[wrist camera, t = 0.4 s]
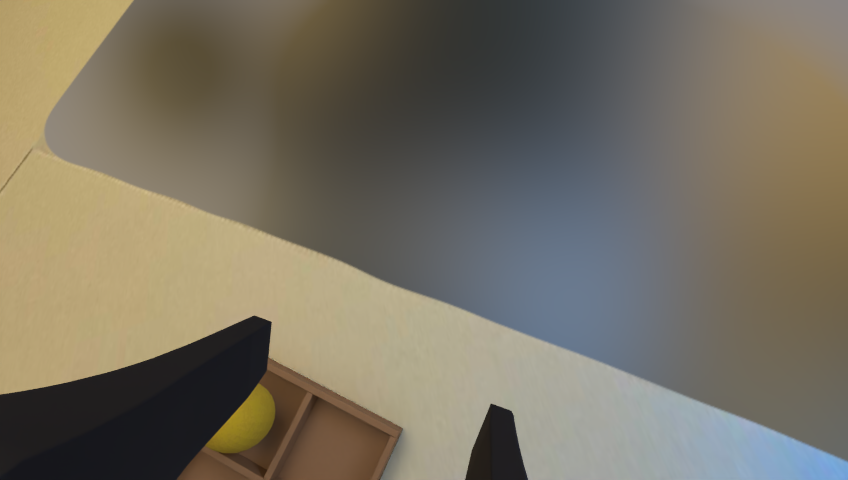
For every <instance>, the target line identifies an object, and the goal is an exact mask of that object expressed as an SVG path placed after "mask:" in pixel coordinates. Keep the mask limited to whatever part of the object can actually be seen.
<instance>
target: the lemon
mask: <svg viewBox="0 0 848 480" xmlns="http://www.w3.org/2000/svg"><path fill="white" fill-rule="evenodd" d="M275 411H276V410H275V403H274V400H273V397H272V395H271V394H270V393H269V391H268V390H267V389H266V388H265V387H263V386H262V385H261V384H257V386H256V387H255V389H254V390H253V391H252V393H251V394H250V396H249V397H248V398H247V399H246V401H245V402H244V403H243V404H242V405H241V406H240V407H239V408H238V410H237V411H236V412H235V413H234V414H233V415H232V416H231V417H230V419H229V420H228V421H227V422H226V423H225V424H224V425H223V426H222V427H221V428H220V430H219V431H218V432H217V433H216V434H215V435H214V436H213V437H212V438H211V439H210V441H209V442H208V443H207V444H206V445H205V446H206V447H208V448H210V449H211V450H213V451H217V452H220V453H238V452H241V451H245V450H248V449H250V448H251V447H253V446H255V445H256V444H258V443H259V442H260V441H261V440H262V439H263V438H264V437H265V436H266V435H267V434H268V432H269V430H270V429H271V427H272V425H273V422H274V419H275Z"/></svg>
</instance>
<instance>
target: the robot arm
mask: <svg viewBox="0 0 848 480" xmlns="http://www.w3.org/2000/svg"><path fill="white" fill-rule="evenodd" d="M271 323H272V322H271V321H268V320H265V319H262V318H260V317H257V316H252V317H250V318H248V319H245V320H243V321H241V322H238V323H236V324H234V325H232V326H230V327H227V328H225V329H223V330H221V331H219V332H216V333H214V334H212V335H209V336H207V337H205V338H202V339H200V340H198V341H196V342H193V343H191V344H188V345H186V346H183V347H181V348H178V349H176V350H173V351H170V352H168V353H165V354H163V355H160V356H157V357H155V358H152V359H149V360H146V361H143V362H140V363H137V364H134V365H131V366H128V367H125V368H121V369H118V370H115V371H111V372H108V373H104V374H100V375H96V376H92V377H88V378H84V379H80V380H76V381H72V382H68V383H63V384H58V385H53V386H48V387H43V388H38V389H32V390H27V391H21V392H15V393H9V394H2V395H0V480H177V478H178V477H179V476H180V474H181V473H182V472H183V470H184V469H185V468H186V467H187V465H188V464H189V463H190V462H191V461H192V460H193V458H194V457H195V456H196V455H197V454H198V453H199V452H200V450H201V449H202V448H203V447H204V446H205V445H206V444H207V443H208V442H209V441H210V439H211V438H212V437H213V436H214V435H215V434H216V433H217V432H218V431H219V430H220V428H221V427H222V426H223V425H224V424H225V423H226V422H227V421H228V420H229V419H230V417H231V416H232V415H233V414H234V413H235V412H236V411H237V410H238V408H239V407H240V406H241V405H242V404H243V403H244V402H245V401H246V399H247V398H248V397H249V396H250V394H251V393H252V391H253V390H254V389H255V387H256V386H257V384H258V383H259V381H260V380H261V379H262V377H263V376H264V374H265V373H266V371H267V364H268V354H269V344H270V333H271ZM465 480H528V478H527V475H526V471H525V468H524V464H523V460H522V456H521V452H520V448H519V443H518V438H517V434H516V428H515V422H514V415H513V413H512V412H511V411H510V410H507V409H504V408H502V407H499V406H496V405H494V404H491V405H490V407H489V410H488V412H487V415H486V417H485V420H484V422H483V425H482V427H481V430H480V432H479V435H478V437H477V439H476V442H475V444H474V447H473V449H472V453H471V457H470V461H469V466H468V470H467V474H466V479H465Z"/></svg>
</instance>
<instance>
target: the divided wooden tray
mask: <svg viewBox="0 0 848 480" xmlns="http://www.w3.org/2000/svg"><path fill="white" fill-rule="evenodd" d="M258 384H261V385H262V386H263V387H265V388H266V389H267V390H268V391H269V393H270V394H271V395H272V397H273V400H274V403H275V410H276V411H275V419H274V422H273V425H272V427H271V429H270V430H269V432H268V434H267V435H266V436H265V437H264V438H263V439H262V440H261V441H260V442H259V443H258V444H256V445H255V446H253V447H251V448H250V449H248V450H245V451H241V452H238V453H220V452H217V451H213V450H211V449H210V448H208V447H206V446H204V447H203V448H202V449H201V450H200V452H199V453H198V454H197V455H196V456H195V457H194V458H193V460H192V461H191V462H190V463H189V464H188V465H187V467H186V468H185V469H184V470H183V472H182V473H181V474H180V476H179V477H178V478H177V480H380V478H381V476H382V474H383V472H384V469H385V467H386V465H387V463H388V461H389V458H390V456H391V454H392V452H393V449H394V447H395V445H396V443H397V440H398V438H399V436H400V434H401V432H402V429H403V428H401V427H399V426H397V425H395V424H393V423H392V422H390V421H388V420H386V419H384V418H382V417H380V416H378V415H376V414H374V413H373V412H371V411H369V410H367V409H365V408H363V407H361V406H359V405H357V404H355V403H354V402H352V401H350V400H348V399H346V398H344V397H342V396H340V395H338V394H336V393H334V392H333V391H331V390H329V389H327V388H325V387H323V386H321V385H319V384H317V383H315V382H314V381H312V380H310V379H308V378H306V377H304V376H302V375H300V374H298V373H296V372H294V371H293V370H291V369H289V368H287V367H285V366H283V365H281V364H279V363H277V362H275V361H274V360H272V359H270V358H268V364H267V371H266V373H265V374H264V376H263V377H262V379H261V380H260V381H259V383H258Z"/></svg>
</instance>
